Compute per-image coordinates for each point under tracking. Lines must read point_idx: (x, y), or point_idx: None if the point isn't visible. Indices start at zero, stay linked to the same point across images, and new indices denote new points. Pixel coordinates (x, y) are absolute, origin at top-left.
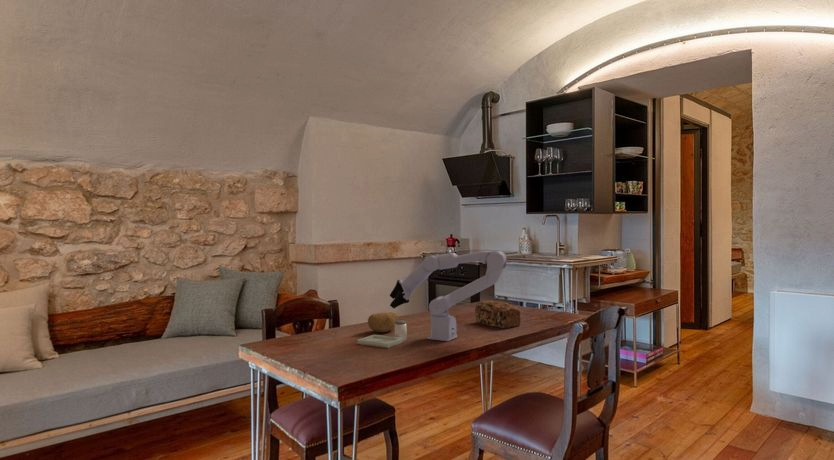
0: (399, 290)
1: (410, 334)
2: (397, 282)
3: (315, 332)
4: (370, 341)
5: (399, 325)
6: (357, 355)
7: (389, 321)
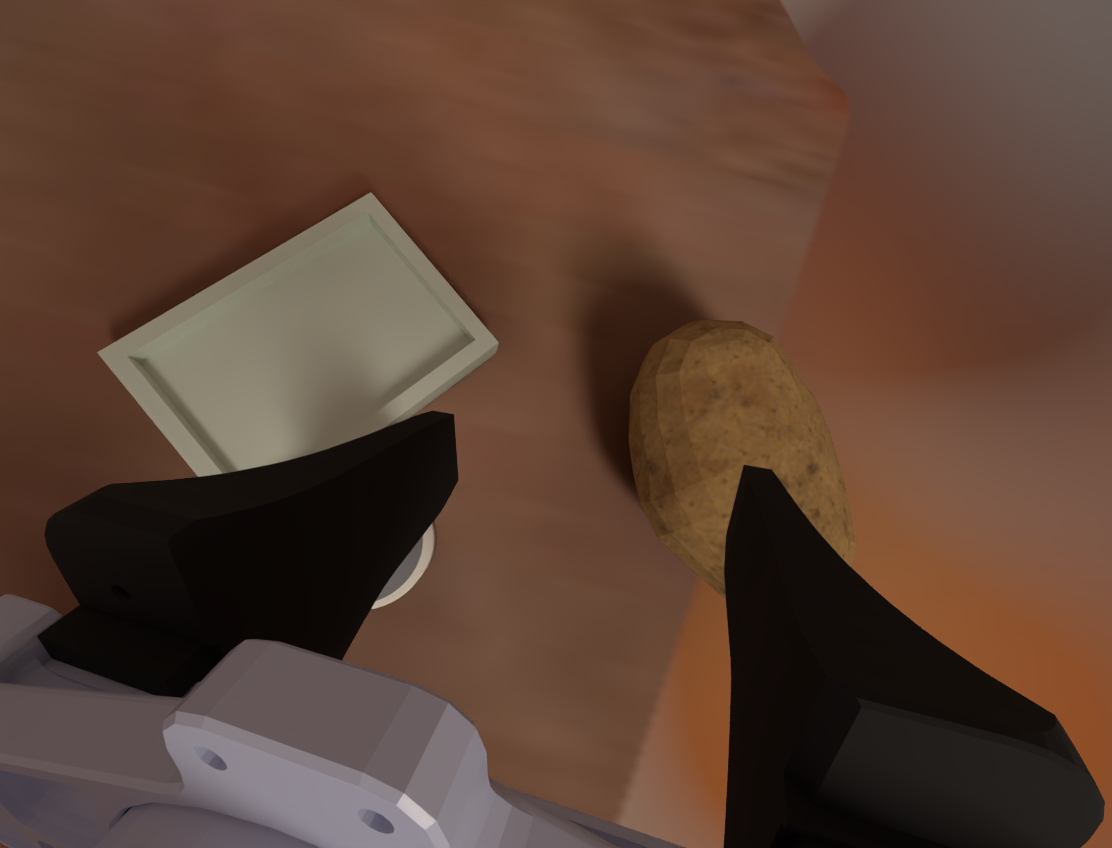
0: (747, 677)
1: (521, 662)
2: (855, 672)
3: (811, 87)
4: (262, 256)
5: None
6: (33, 123)
7: (650, 499)
